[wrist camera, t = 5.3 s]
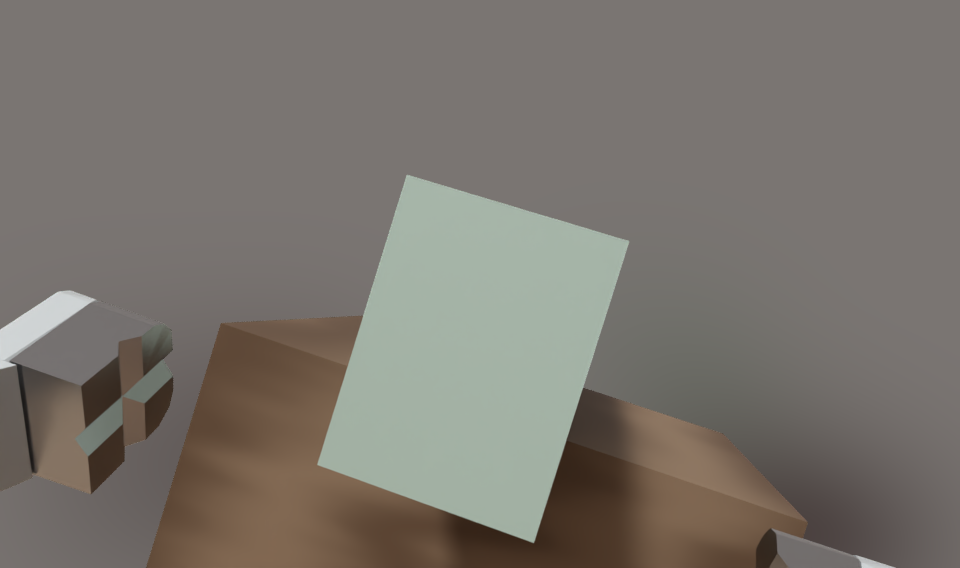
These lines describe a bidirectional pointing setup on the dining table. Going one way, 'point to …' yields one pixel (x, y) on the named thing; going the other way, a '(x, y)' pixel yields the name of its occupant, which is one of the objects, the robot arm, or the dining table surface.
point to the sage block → (472, 356)
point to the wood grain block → (420, 527)
